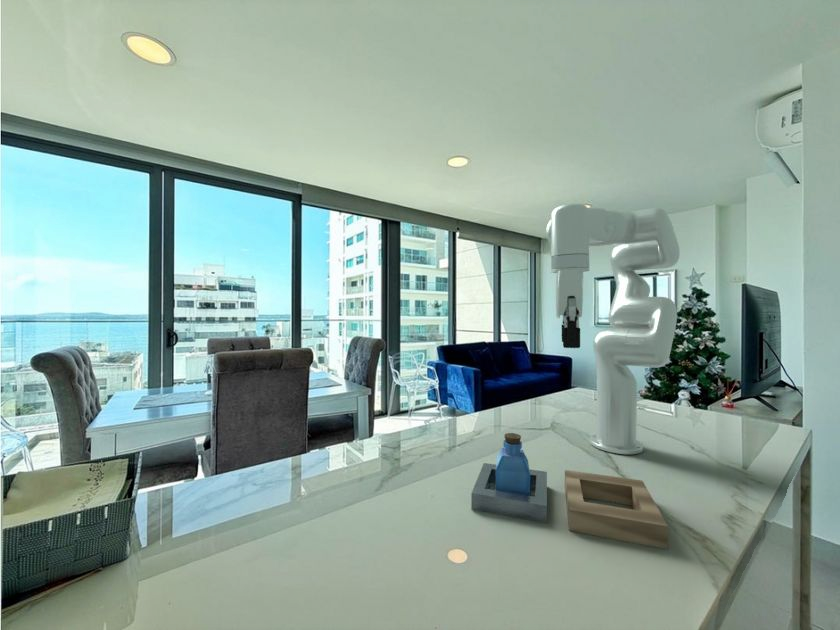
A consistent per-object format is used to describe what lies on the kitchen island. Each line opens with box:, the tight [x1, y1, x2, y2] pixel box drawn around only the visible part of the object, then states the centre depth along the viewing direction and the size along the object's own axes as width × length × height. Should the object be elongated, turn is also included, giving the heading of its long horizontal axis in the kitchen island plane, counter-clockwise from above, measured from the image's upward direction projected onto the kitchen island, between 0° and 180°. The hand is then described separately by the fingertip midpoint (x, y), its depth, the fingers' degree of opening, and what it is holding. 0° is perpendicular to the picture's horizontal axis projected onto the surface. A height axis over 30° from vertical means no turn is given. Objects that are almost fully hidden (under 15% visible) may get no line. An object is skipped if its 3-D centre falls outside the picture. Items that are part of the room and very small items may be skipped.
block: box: [470, 462, 548, 524], centre depth 72 cm, size 14×13×3 cm
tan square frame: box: [564, 469, 669, 550], centre depth 66 cm, size 16×14×4 cm
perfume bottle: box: [495, 432, 531, 496], centre depth 72 cm, size 6×6×12 cm
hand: (570, 344), depth 79 cm, fingers open, 9 cm apart
